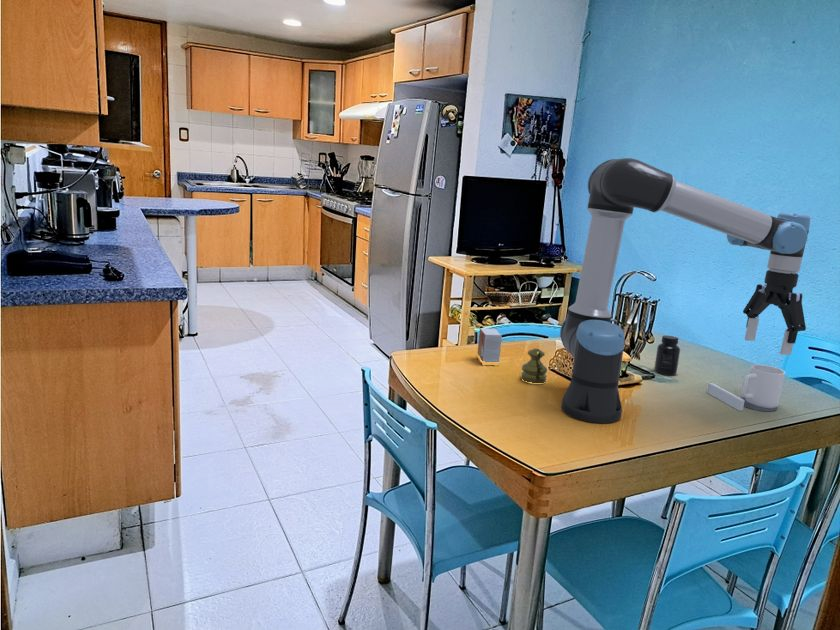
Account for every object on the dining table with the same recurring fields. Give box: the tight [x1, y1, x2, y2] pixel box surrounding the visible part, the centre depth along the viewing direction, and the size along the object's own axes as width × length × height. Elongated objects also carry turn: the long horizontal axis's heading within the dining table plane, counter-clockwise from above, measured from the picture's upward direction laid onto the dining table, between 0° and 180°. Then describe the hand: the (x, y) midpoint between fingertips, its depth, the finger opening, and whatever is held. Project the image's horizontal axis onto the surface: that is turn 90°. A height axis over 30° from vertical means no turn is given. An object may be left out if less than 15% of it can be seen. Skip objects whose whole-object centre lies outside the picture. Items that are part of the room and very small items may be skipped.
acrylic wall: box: [706, 382, 745, 412], centre depth 167 cm, size 1×14×3 cm, turn 10°
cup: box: [740, 364, 786, 408], centre depth 164 cm, size 8×12×10 cm
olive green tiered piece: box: [520, 348, 548, 384], centre depth 174 cm, size 7×7×10 cm
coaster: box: [739, 396, 778, 413], centre depth 166 cm, size 10×10×1 cm
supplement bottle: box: [653, 335, 681, 377], centre depth 189 cm, size 7×7×12 cm
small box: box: [477, 327, 503, 363], centre depth 189 cm, size 8×6×10 cm
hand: (766, 347), depth 162 cm, fingers open, 13 cm apart
